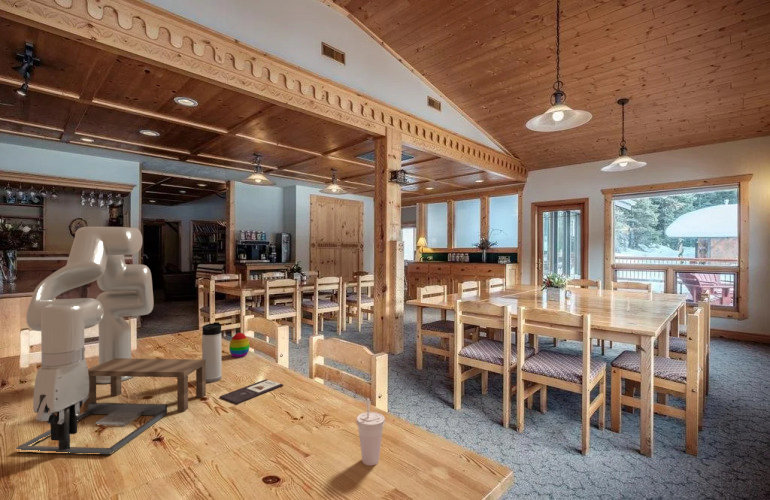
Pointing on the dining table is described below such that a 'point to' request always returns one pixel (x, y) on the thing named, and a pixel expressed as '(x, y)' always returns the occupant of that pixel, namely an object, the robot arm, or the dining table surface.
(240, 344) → the decorative egg
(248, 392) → the chocolate bar
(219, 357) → the travel mug
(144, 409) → the grey metal frame
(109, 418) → the pale grey flat block
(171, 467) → the dining table surface
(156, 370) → the small wooden bench
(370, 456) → the smoothie
